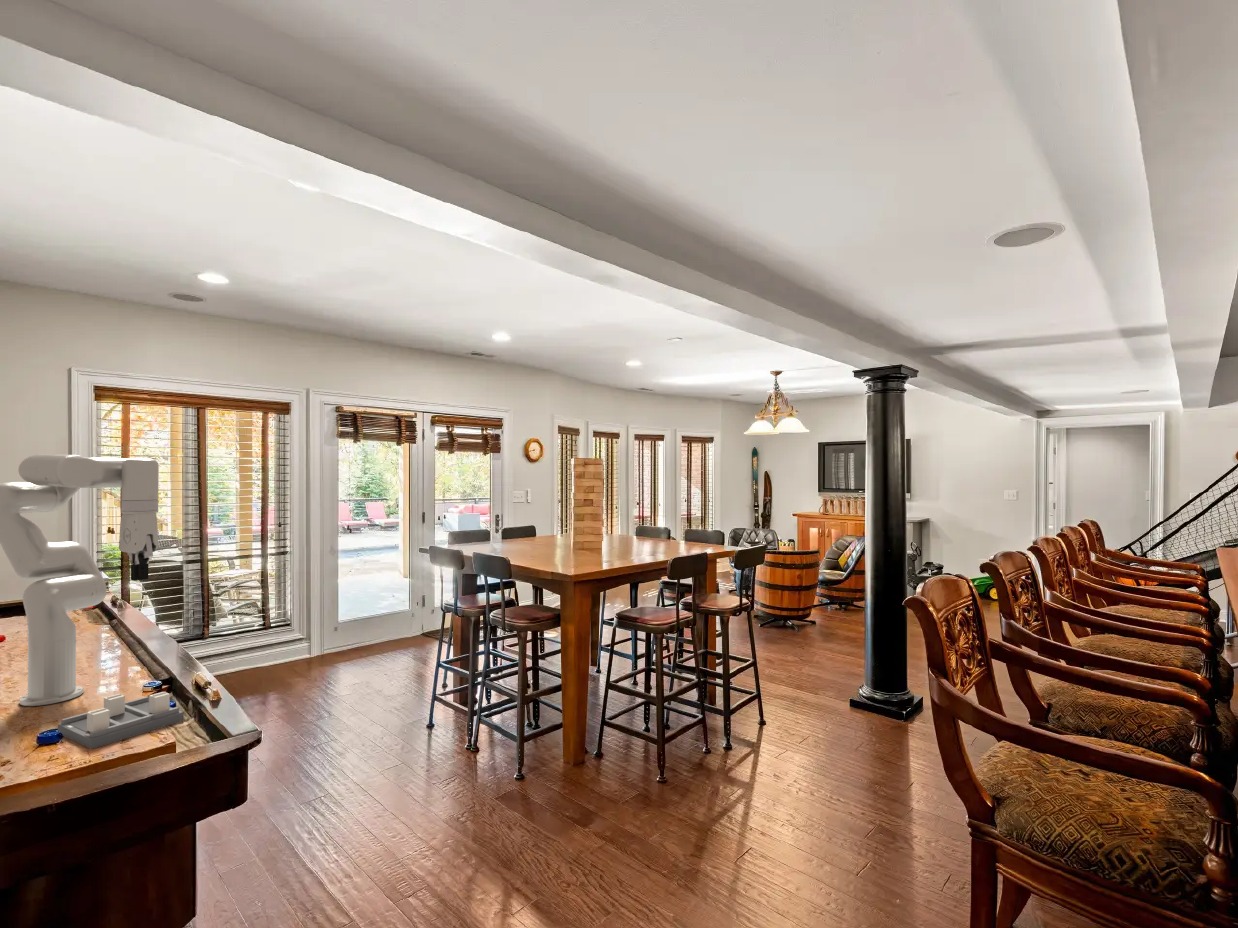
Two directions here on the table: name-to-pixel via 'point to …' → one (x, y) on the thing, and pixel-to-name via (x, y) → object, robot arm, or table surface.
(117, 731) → the switch bank
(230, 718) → the table surface
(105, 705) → the tab
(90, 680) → the table surface
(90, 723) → the tab
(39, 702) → the robot arm
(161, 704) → the tab
